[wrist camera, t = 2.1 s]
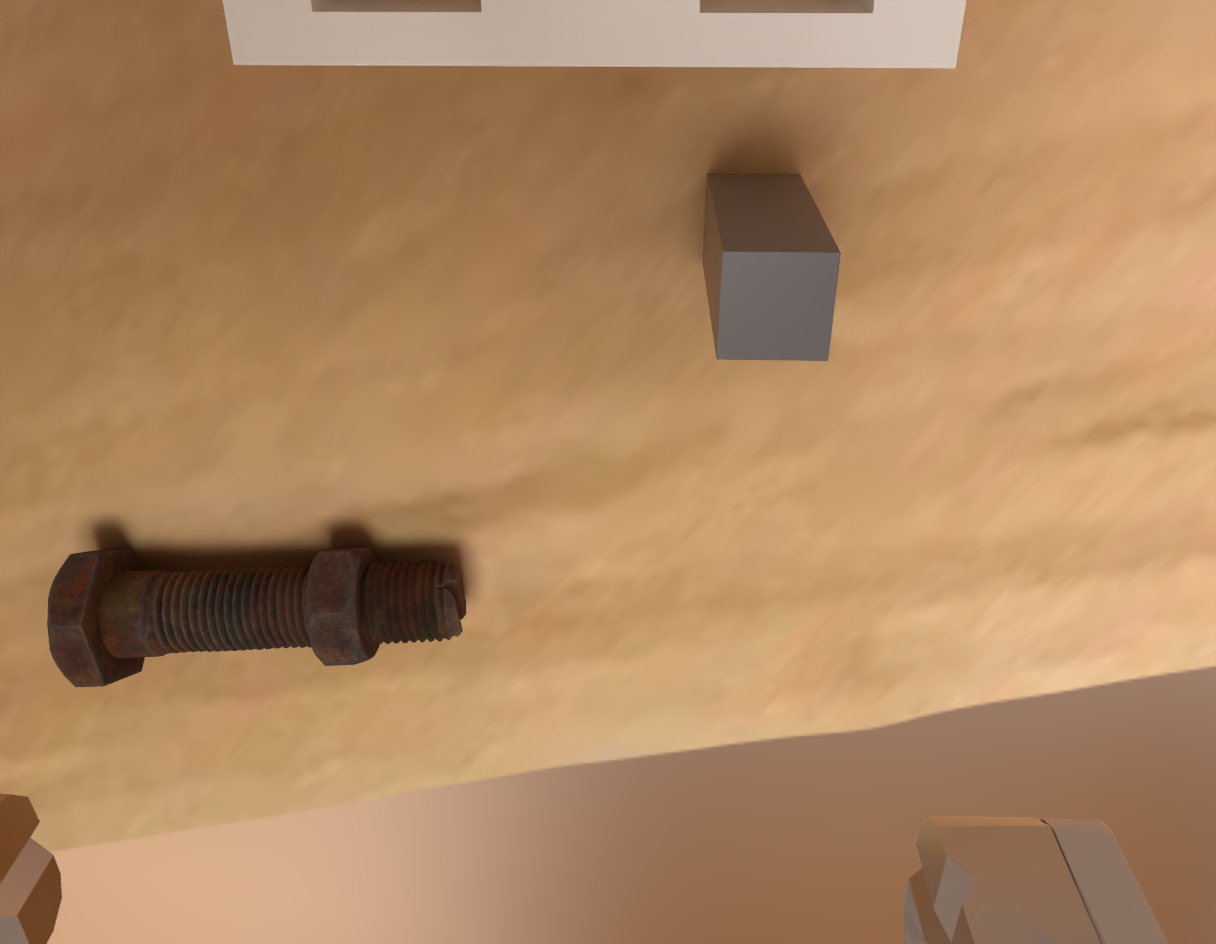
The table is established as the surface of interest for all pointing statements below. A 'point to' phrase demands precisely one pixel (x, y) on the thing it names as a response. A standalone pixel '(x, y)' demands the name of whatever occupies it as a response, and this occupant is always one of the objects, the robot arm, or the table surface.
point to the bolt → (243, 610)
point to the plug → (768, 269)
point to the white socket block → (597, 33)
